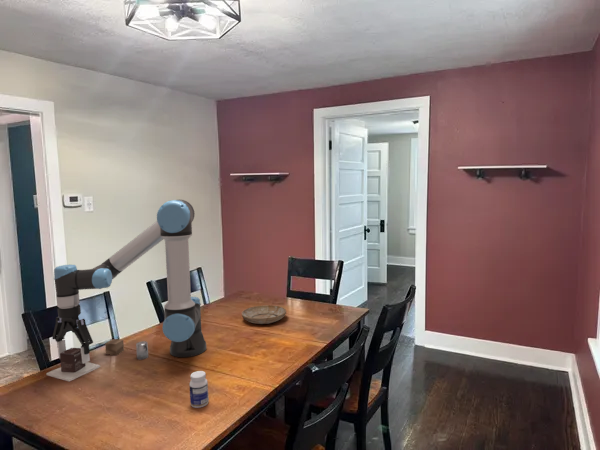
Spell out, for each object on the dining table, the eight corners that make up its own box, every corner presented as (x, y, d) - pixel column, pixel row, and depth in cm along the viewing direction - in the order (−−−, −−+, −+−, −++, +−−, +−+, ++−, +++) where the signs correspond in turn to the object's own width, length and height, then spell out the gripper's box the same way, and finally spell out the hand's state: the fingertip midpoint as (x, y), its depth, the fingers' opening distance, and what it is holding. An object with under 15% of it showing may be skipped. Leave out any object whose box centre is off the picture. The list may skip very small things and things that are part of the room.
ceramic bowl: (295, 317, 217) (295, 308, 216) (268, 331, 197) (268, 320, 197) (260, 311, 229) (260, 302, 229) (232, 323, 210) (232, 313, 209)
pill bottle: (192, 399, 134) (190, 370, 133) (209, 398, 135) (208, 369, 134) (188, 409, 128) (187, 378, 128) (207, 407, 129) (205, 377, 128)
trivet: (100, 367, 161) (100, 365, 161) (69, 381, 149) (69, 379, 149) (78, 361, 166) (77, 359, 166) (46, 375, 155) (46, 373, 155)
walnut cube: (123, 350, 177) (123, 339, 176) (116, 355, 172) (115, 344, 172) (113, 350, 178) (112, 339, 177) (106, 354, 173) (105, 343, 172)
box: (74, 373, 154) (72, 354, 153) (60, 372, 155) (59, 353, 155) (86, 366, 160) (84, 348, 159) (72, 365, 161) (71, 347, 161)
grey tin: (150, 356, 170) (149, 342, 170) (142, 360, 166) (141, 346, 166) (142, 354, 172) (142, 340, 172) (134, 358, 168) (133, 344, 168)
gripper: (100, 305, 153) (105, 360, 155) (57, 300, 164) (62, 351, 166) (81, 311, 147) (87, 368, 149) (38, 305, 157) (44, 358, 159)
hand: (74, 359), depth 157 cm, fingers open, 13 cm apart
